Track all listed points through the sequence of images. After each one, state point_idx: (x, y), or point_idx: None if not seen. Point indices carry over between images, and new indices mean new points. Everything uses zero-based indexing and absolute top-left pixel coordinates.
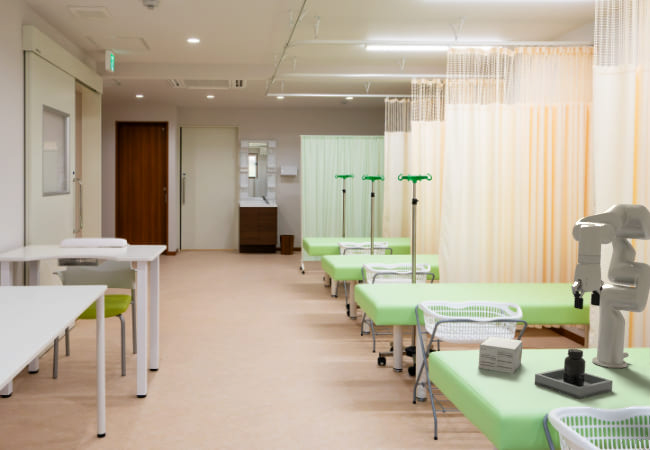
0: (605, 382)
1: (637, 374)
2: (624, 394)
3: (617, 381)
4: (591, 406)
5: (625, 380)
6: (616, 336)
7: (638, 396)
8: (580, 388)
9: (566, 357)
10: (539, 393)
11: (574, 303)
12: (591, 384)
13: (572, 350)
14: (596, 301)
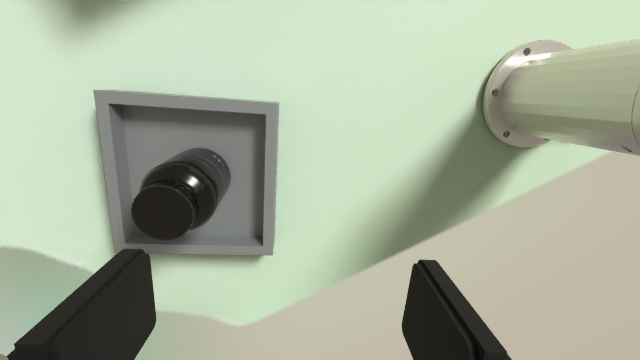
0: (238, 254)
1: (478, 198)
2: (275, 270)
3: (367, 205)
4: None
5: (395, 211)
6: (595, 141)
7: (291, 292)
8: (116, 252)
9: (151, 177)
10: (54, 155)
11: (95, 274)
12: (181, 246)
13: (142, 210)
14: (417, 345)
